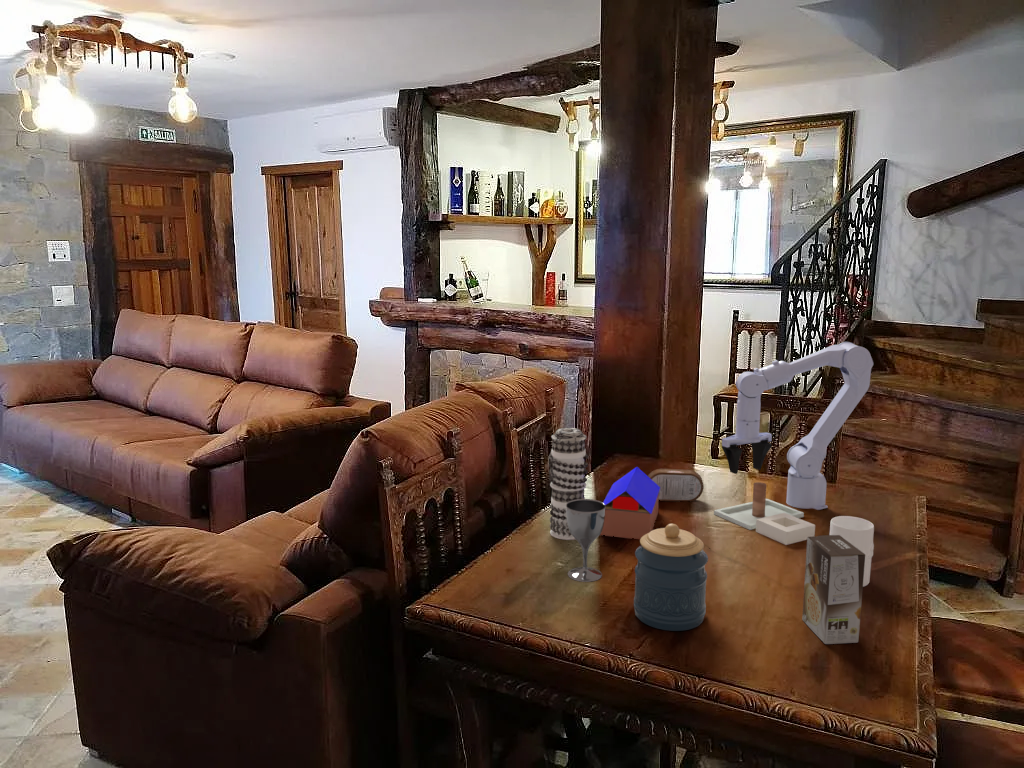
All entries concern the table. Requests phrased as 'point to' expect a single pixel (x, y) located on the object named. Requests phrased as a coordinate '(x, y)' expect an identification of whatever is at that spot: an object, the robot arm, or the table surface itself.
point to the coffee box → (833, 589)
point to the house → (631, 506)
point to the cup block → (785, 528)
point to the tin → (677, 484)
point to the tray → (744, 513)
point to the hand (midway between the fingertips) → (745, 470)
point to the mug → (856, 537)
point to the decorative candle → (566, 477)
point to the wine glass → (585, 532)
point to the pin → (759, 499)
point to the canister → (670, 579)
